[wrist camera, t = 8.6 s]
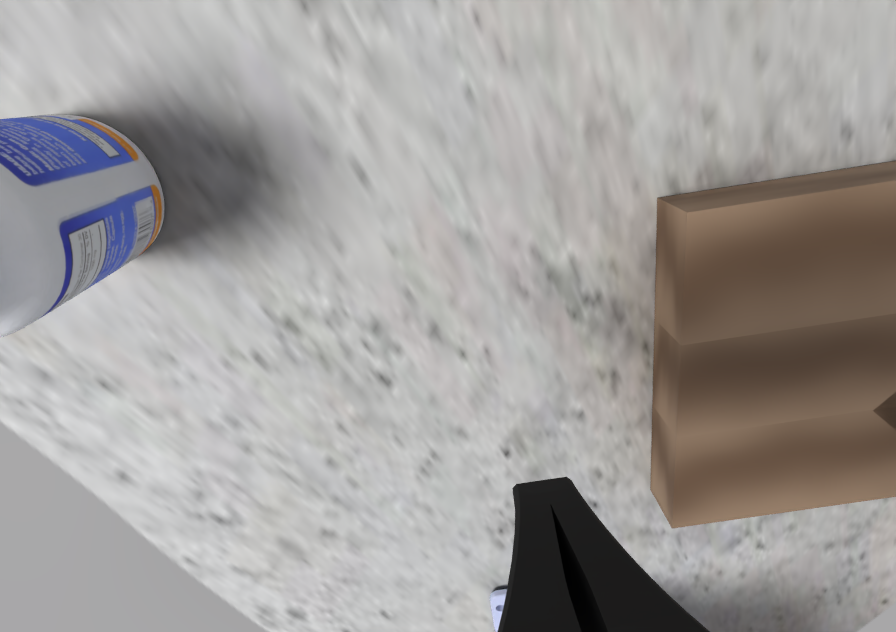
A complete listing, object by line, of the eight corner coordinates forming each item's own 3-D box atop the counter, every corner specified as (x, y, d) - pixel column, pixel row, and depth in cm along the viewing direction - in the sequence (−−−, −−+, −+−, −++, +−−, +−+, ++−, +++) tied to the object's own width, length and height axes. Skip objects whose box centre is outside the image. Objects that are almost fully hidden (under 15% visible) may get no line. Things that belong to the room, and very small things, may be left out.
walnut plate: (996, 440, 26) (1051, 474, 24) (650, 489, 26) (671, 528, 24) (1113, 127, 20) (1203, 132, 17) (657, 197, 20) (687, 212, 18)
